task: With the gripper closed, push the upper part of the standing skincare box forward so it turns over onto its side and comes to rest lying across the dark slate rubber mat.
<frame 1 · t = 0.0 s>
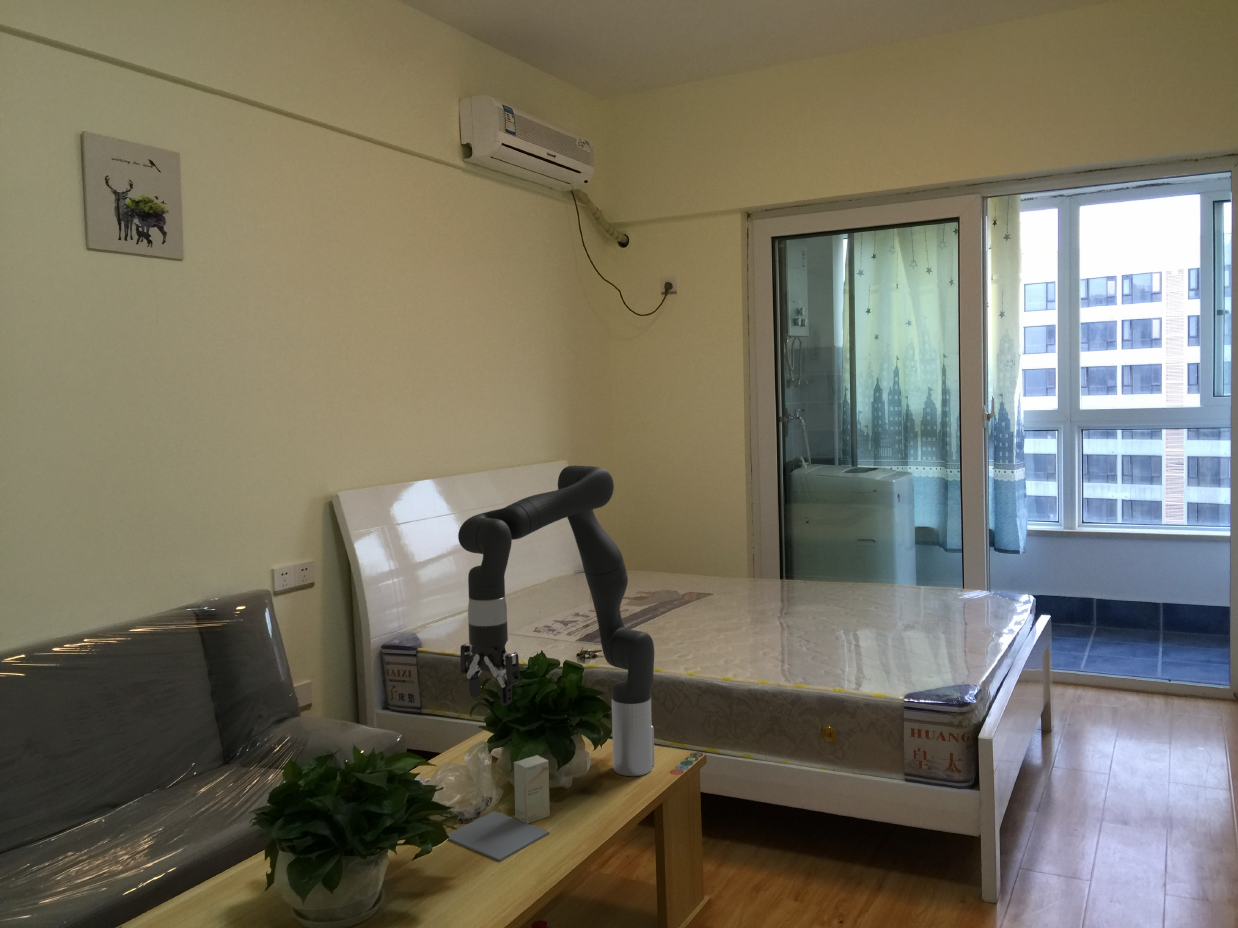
hand: (490, 700, 189), 29 cm above the table, fingers open, 8 cm apart
skincare box: (532, 817, 203), on the table
slate mat: (496, 835, 195), on the table
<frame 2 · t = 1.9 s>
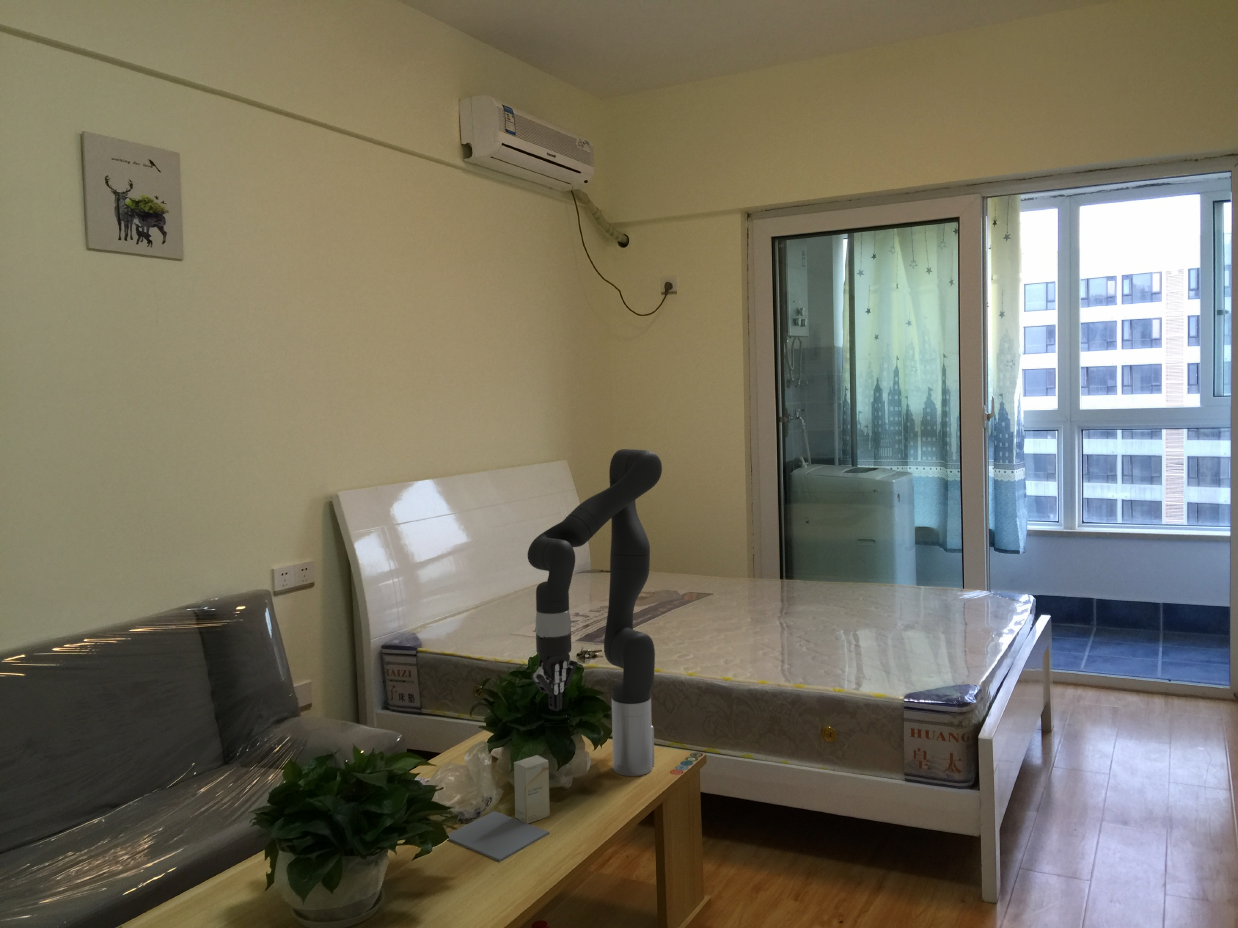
hand: (555, 709, 207), 21 cm above the table, fingers closed
nothing on the table moved.
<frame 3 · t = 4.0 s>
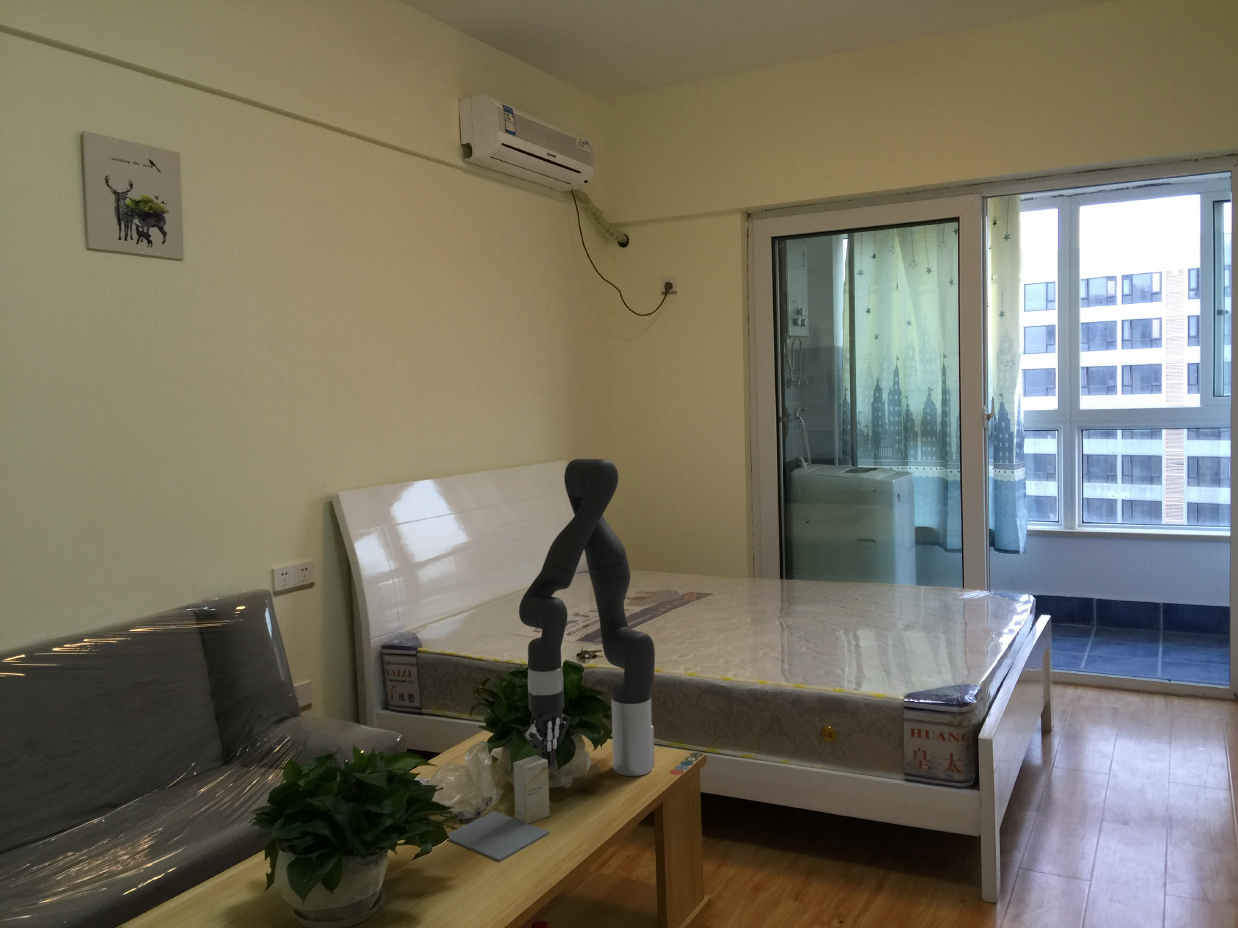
hand: (548, 765, 206), 9 cm above the table, fingers closed
skincare box: (532, 817, 203), on the table, touching gripper
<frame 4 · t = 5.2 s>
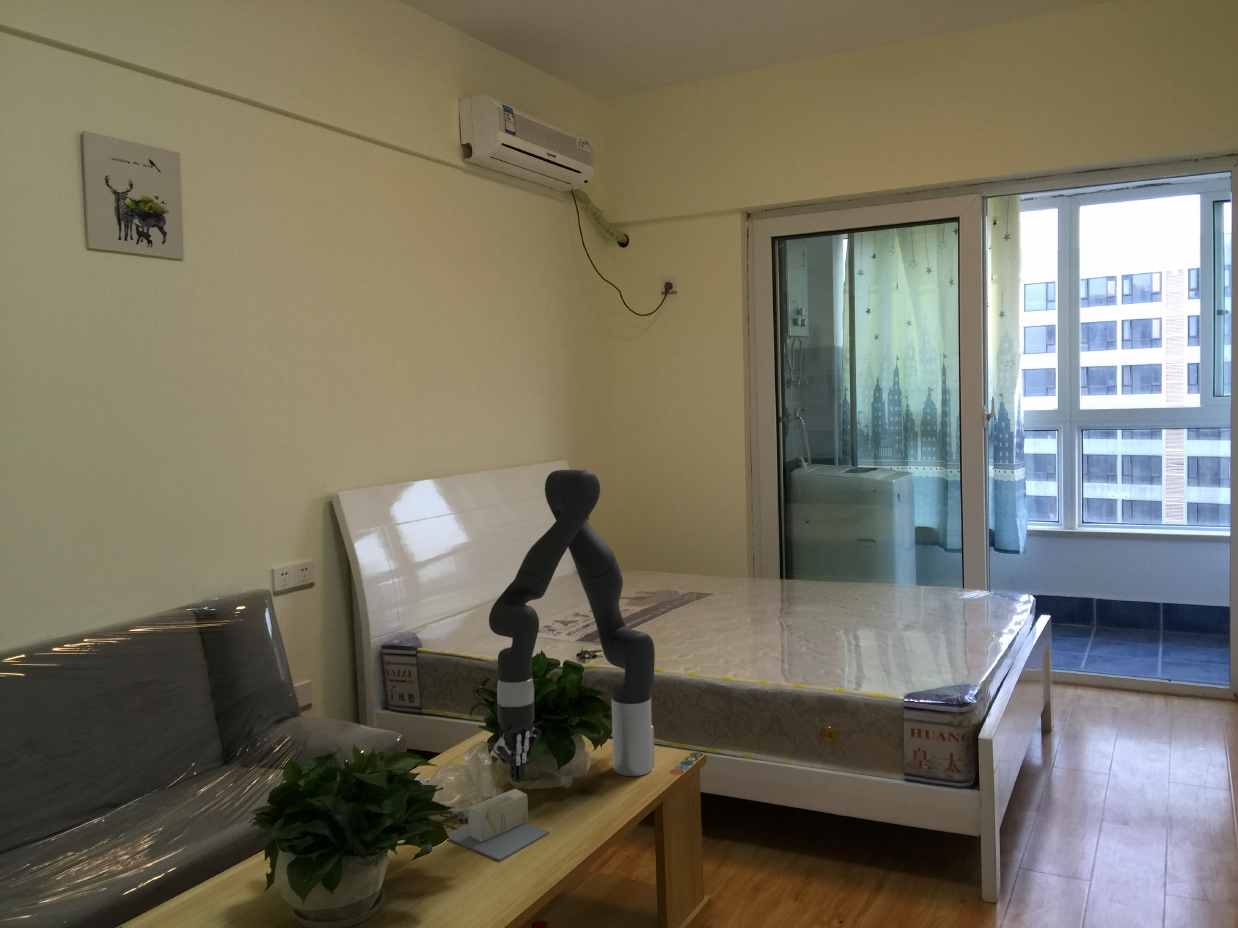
hand: (517, 780, 199), 9 cm above the table, fingers closed
skincare box: (522, 803, 201), point 4 cm above the table, touching slate mat
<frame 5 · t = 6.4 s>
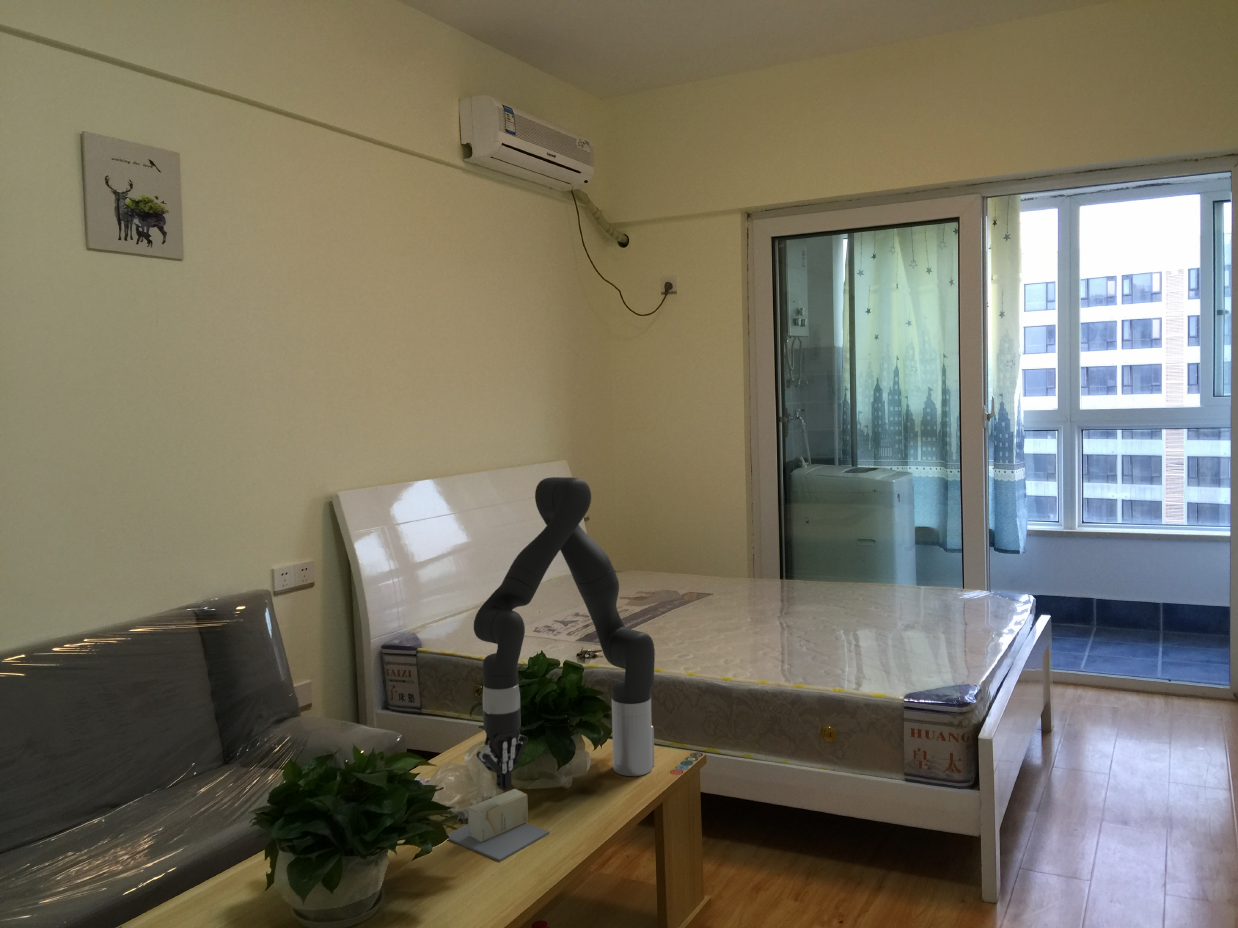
hand: (504, 788, 196), 9 cm above the table, fingers closed
nothing on the table moved.
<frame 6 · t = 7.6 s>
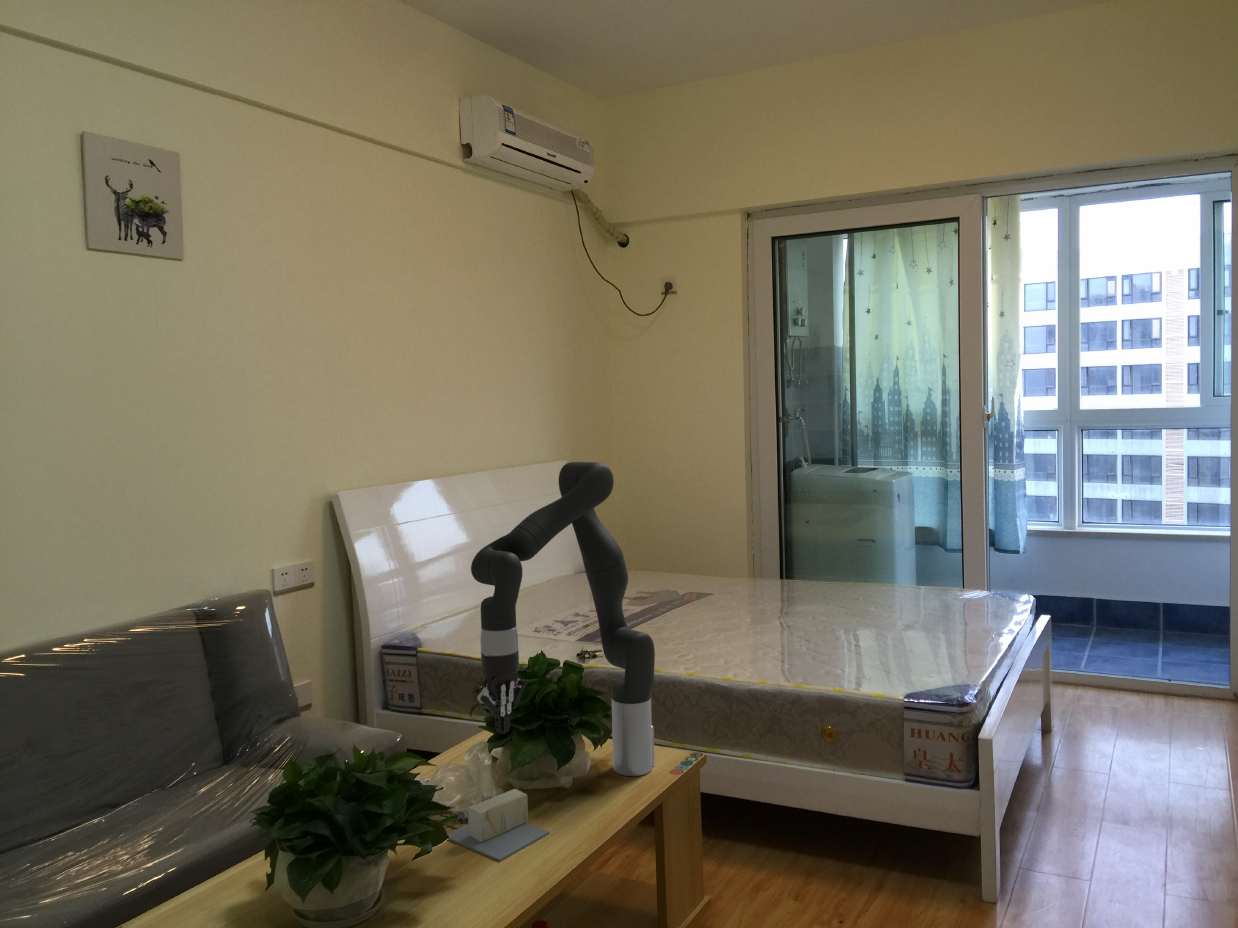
hand: (502, 732, 195), 21 cm above the table, fingers closed
nothing on the table moved.
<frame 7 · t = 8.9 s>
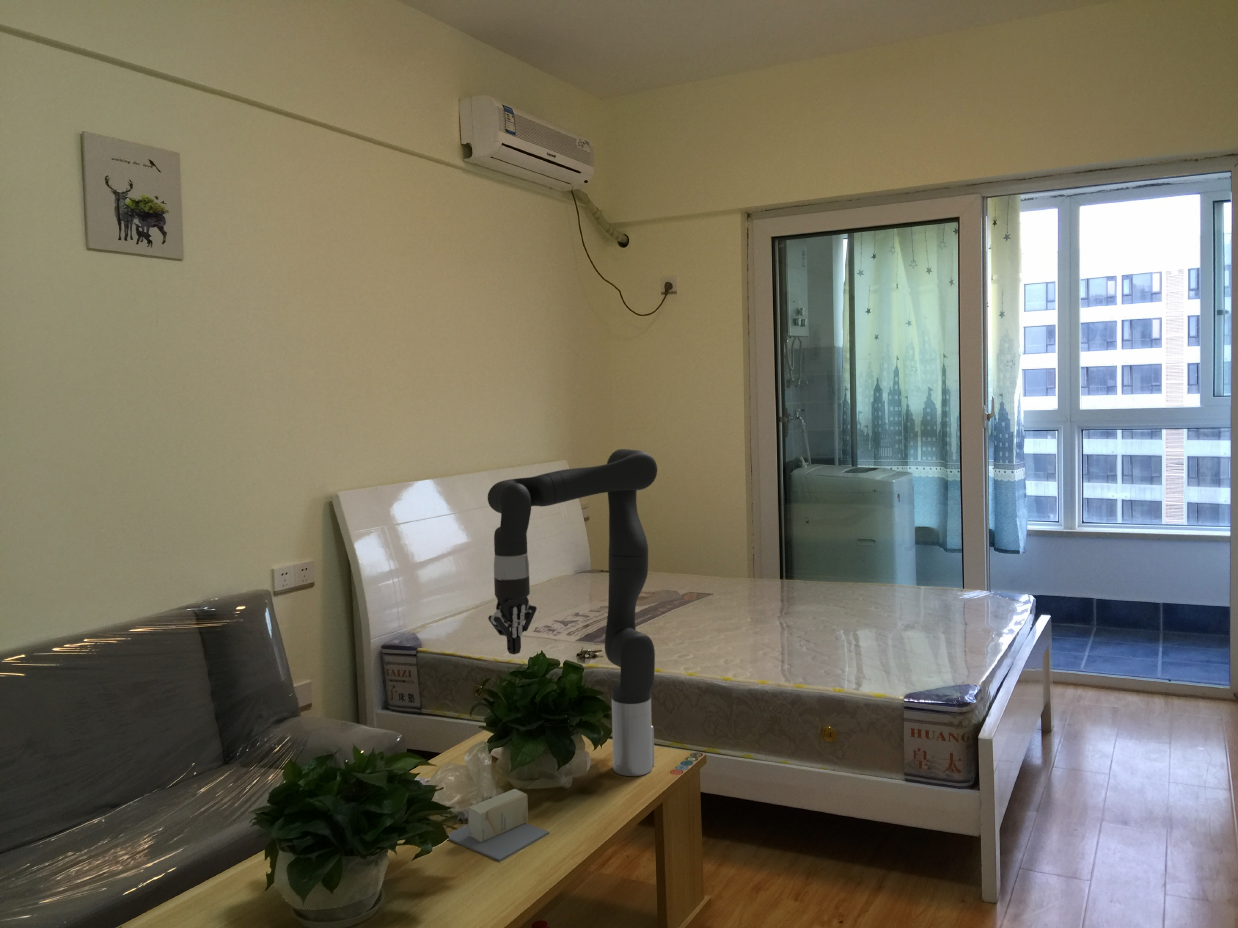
hand: (514, 653, 208), 33 cm above the table, fingers closed
nothing on the table moved.
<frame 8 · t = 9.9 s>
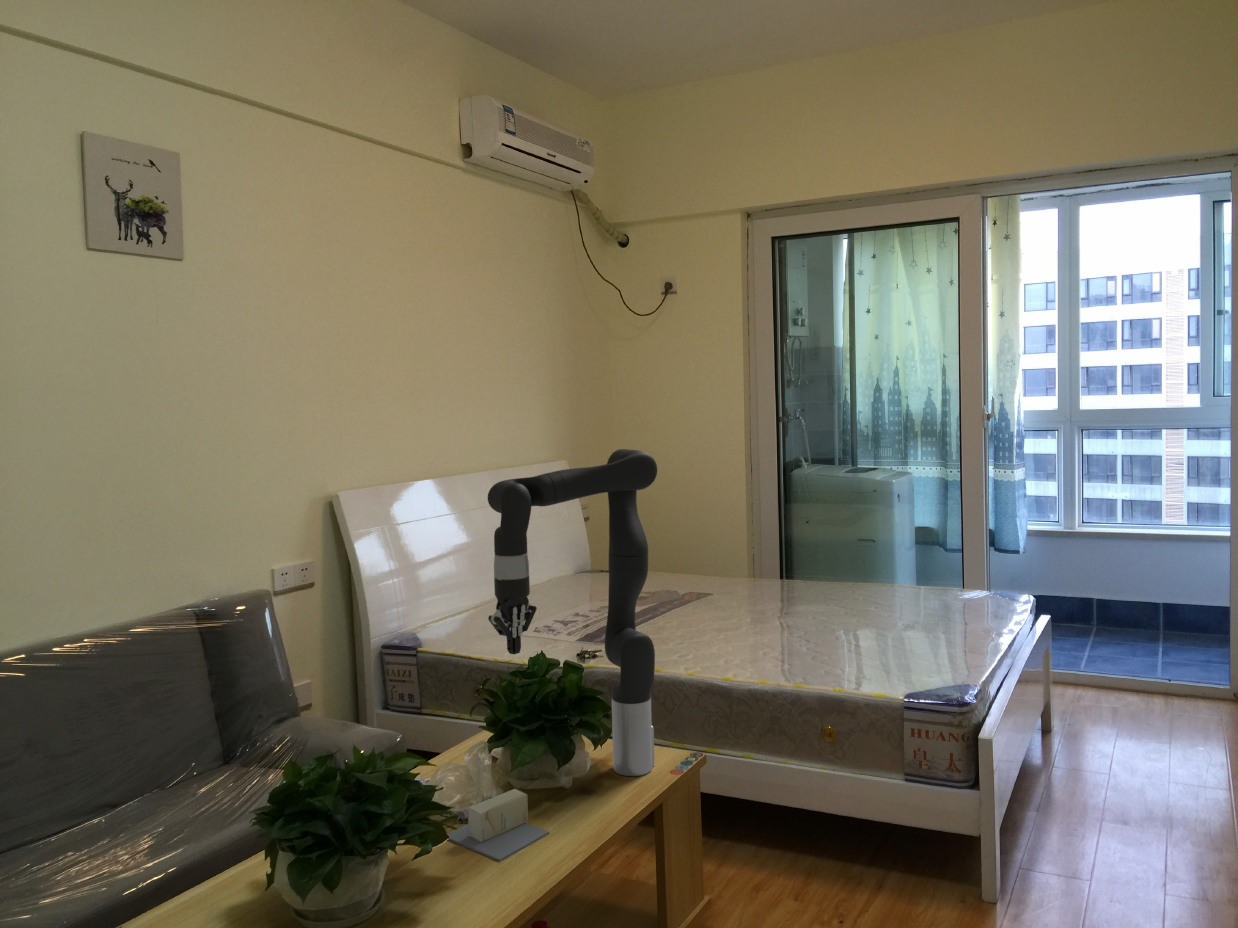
hand: (514, 653, 208), 33 cm above the table, fingers closed
nothing on the table moved.
at the end: skincare box tilted 91°; skincare box touching slate mat; skincare box inside the target area (2.9 cm from its centre), point 3.6 cm above the table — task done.
